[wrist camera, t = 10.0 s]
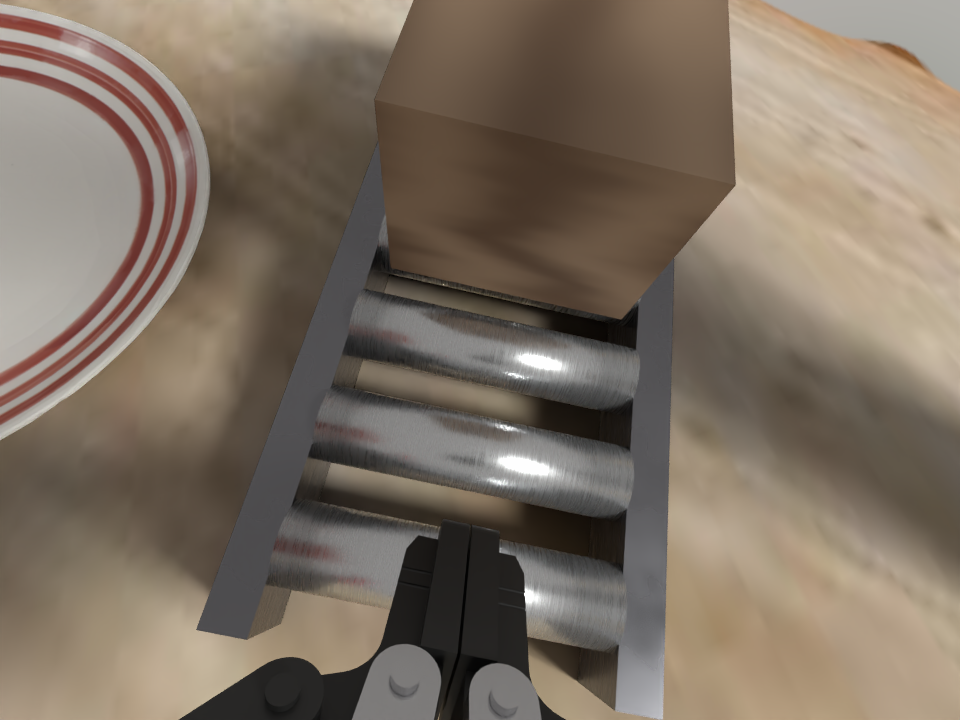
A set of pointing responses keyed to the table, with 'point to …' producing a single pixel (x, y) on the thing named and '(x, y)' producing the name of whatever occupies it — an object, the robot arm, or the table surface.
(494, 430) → the roller bed
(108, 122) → the dinner plate
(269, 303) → the table surface
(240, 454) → the table surface
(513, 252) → the brown cardboard box
